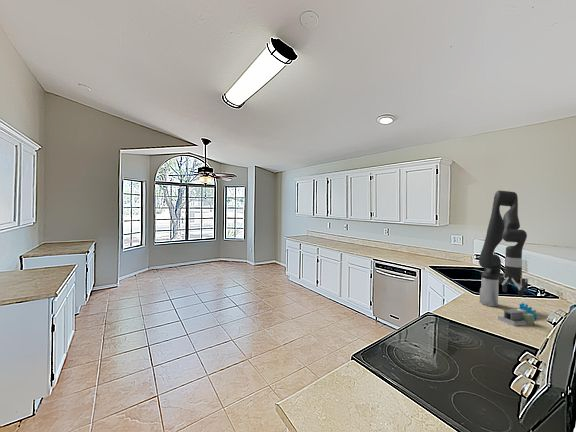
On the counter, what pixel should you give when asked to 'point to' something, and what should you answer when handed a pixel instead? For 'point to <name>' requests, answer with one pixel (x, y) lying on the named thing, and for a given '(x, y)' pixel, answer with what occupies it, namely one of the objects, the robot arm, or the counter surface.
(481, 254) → the robot arm
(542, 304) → the counter surface
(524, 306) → the gear
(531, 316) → the drawer with ball knob
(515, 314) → the grey lidded bin
